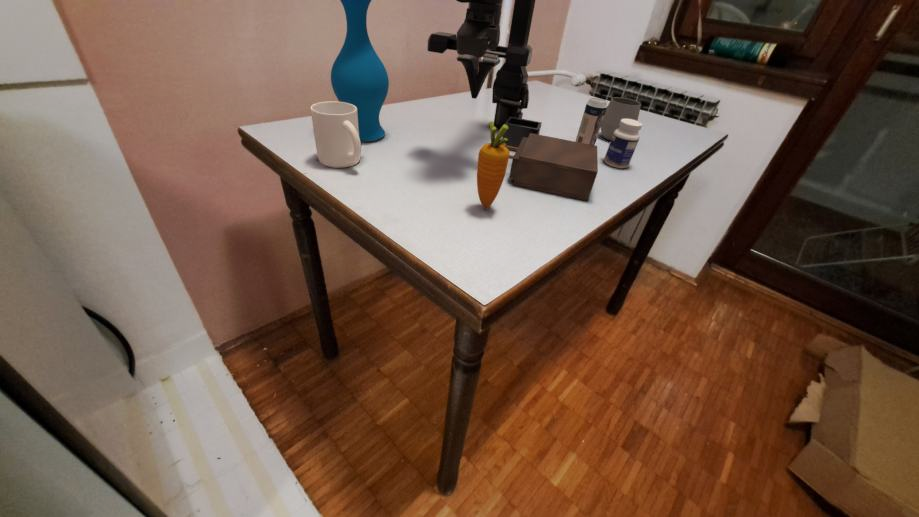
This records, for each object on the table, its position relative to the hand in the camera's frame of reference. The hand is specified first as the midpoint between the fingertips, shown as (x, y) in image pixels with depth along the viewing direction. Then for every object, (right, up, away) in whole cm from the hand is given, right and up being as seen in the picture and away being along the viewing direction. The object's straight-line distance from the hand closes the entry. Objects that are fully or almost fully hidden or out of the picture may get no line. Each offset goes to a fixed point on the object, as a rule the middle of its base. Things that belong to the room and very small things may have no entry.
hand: (474, 98), depth 72 cm
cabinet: (+17, -15, +5) cm, 23 cm away
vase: (-26, -3, +14) cm, 29 cm away
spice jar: (+28, -5, +20) cm, 35 cm away
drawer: (+13, -13, +5) cm, 19 cm away
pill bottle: (+34, -9, +15) cm, 39 cm away
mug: (-26, -13, +1) cm, 29 cm away
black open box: (+12, -5, +17) cm, 21 cm away
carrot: (+2, -23, -8) cm, 25 cm away
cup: (+40, +2, +30) cm, 50 cm away
